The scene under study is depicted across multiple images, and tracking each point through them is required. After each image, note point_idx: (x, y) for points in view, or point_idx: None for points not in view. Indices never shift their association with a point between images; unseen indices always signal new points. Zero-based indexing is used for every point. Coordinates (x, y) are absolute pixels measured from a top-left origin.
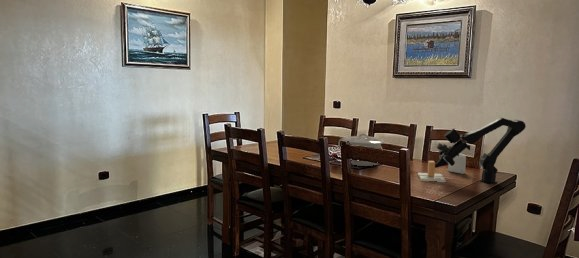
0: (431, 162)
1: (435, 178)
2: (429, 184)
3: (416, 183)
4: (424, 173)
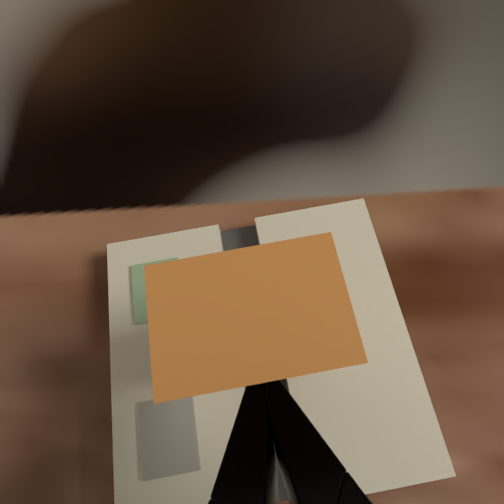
0: (147, 310)
1: (151, 399)
2: (4, 335)
3: (19, 221)
4: (356, 266)
